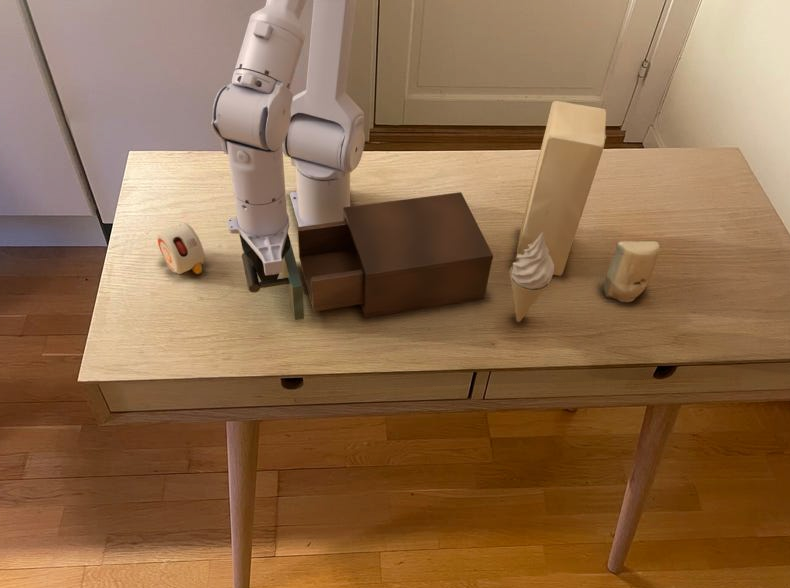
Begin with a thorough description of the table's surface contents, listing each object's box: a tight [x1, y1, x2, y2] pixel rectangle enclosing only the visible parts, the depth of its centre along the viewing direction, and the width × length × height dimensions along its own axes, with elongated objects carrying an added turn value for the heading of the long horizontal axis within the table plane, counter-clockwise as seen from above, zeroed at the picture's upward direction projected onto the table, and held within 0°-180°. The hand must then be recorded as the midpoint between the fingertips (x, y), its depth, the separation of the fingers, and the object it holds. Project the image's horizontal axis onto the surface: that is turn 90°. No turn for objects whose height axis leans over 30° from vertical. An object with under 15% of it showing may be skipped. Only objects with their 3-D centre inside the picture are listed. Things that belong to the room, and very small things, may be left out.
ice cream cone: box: [509, 232, 554, 323], centre depth 91 cm, size 5×5×15 cm
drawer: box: [241, 221, 365, 321], centre depth 95 cm, size 20×11×6 cm, turn 106°
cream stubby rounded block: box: [602, 240, 662, 303], centre depth 98 cm, size 6×5×8 cm
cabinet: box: [343, 191, 494, 318], centre depth 98 cm, size 16×13×8 cm
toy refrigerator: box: [514, 100, 607, 277], centre depth 97 cm, size 8×7×21 cm
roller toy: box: [156, 222, 206, 275], centre depth 97 cm, size 4×6×6 cm
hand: (268, 276), depth 94 cm, fingers closed, pressing on drawer
